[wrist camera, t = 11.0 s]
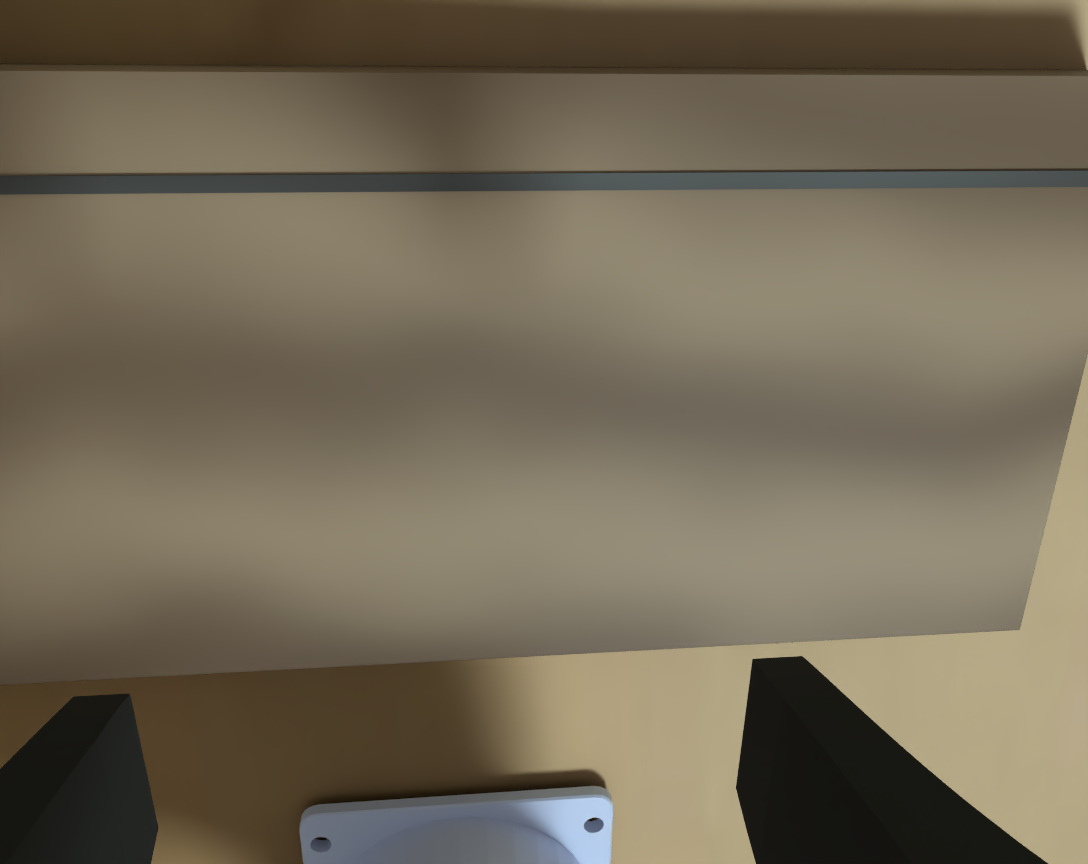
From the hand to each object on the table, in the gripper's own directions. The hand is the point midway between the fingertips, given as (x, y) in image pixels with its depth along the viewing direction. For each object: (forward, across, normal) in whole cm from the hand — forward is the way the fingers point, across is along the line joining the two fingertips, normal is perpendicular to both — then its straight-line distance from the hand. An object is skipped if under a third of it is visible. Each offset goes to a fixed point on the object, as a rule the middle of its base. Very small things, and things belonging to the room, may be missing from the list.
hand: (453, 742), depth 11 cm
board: (+10, +2, -1) cm, 11 cm away
